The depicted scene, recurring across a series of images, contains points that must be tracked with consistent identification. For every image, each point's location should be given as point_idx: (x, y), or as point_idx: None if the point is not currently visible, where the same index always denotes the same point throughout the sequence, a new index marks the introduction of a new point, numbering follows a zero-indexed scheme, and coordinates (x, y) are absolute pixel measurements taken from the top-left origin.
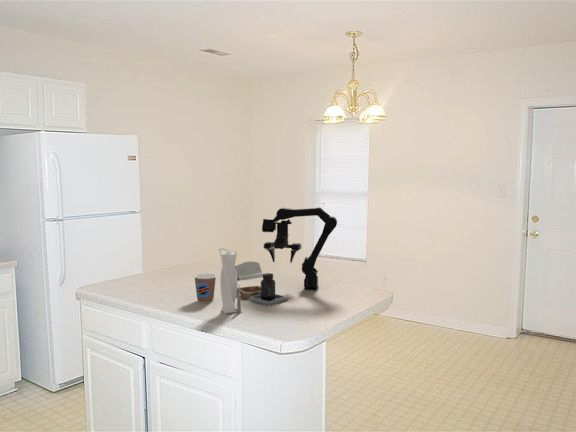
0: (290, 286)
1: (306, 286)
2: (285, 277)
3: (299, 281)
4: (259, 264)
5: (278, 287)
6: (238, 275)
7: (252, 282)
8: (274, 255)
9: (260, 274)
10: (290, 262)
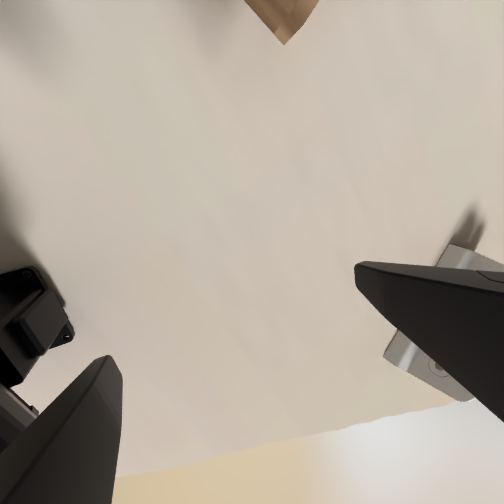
0: (172, 279)
1: (21, 292)
2: (296, 404)
3: (196, 394)
4: (452, 397)
5: (222, 217)
6: (478, 256)
7: (390, 239)
8: (437, 355)
9: (402, 352)
10: (104, 360)
